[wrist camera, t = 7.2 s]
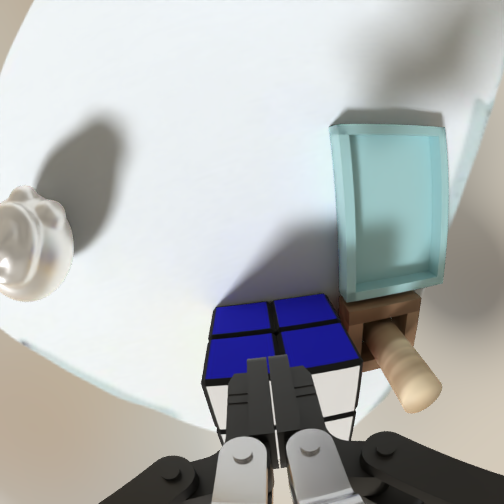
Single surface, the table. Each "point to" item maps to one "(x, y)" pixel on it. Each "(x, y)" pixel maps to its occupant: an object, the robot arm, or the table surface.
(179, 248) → the table surface
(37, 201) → the pearly sea shell
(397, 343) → the beech dowel
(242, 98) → the table surface
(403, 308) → the socket block
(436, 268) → the tray
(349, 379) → the puzzle cube
